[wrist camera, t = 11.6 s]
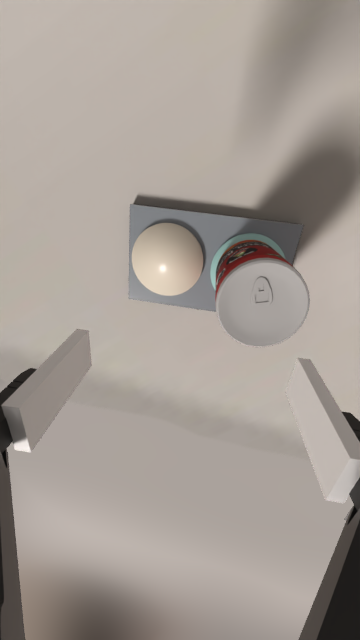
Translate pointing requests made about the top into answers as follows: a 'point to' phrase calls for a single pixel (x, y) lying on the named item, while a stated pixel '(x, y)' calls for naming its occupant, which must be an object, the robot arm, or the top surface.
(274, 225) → the board
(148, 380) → the top surface
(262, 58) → the top surface
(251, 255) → the canned food
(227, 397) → the top surface
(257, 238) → the pad
